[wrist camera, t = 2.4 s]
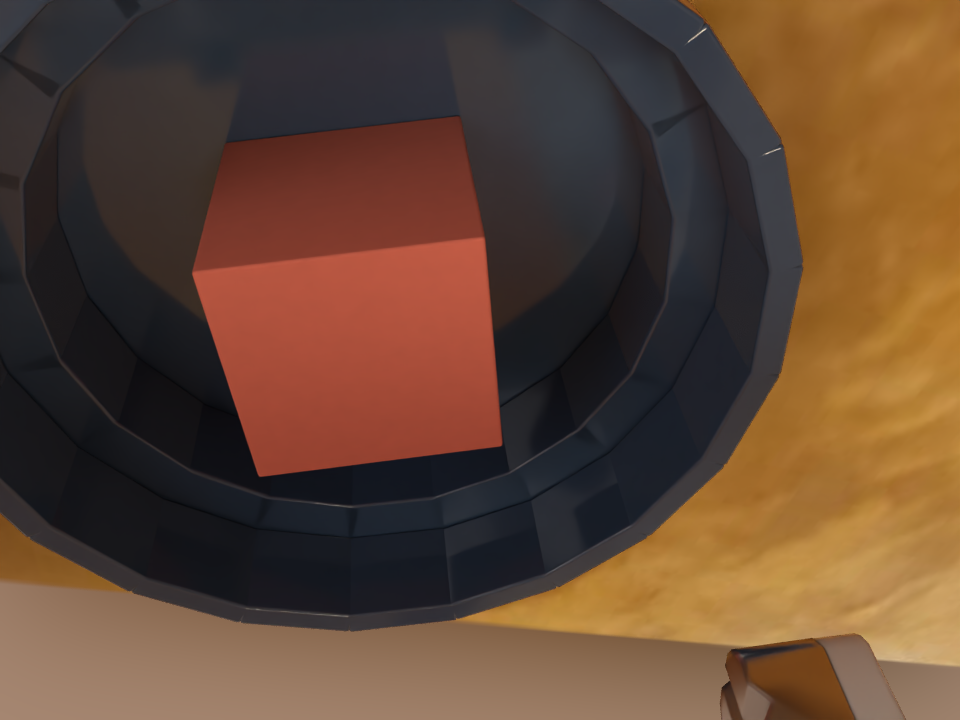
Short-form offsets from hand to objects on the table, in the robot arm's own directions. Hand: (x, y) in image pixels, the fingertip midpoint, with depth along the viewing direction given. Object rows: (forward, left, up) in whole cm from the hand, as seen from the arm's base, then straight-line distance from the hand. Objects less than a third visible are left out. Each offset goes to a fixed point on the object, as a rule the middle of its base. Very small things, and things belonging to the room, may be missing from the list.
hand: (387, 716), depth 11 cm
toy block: (0, 0, -11) cm, 11 cm away
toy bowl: (0, 0, -12) cm, 12 cm away
